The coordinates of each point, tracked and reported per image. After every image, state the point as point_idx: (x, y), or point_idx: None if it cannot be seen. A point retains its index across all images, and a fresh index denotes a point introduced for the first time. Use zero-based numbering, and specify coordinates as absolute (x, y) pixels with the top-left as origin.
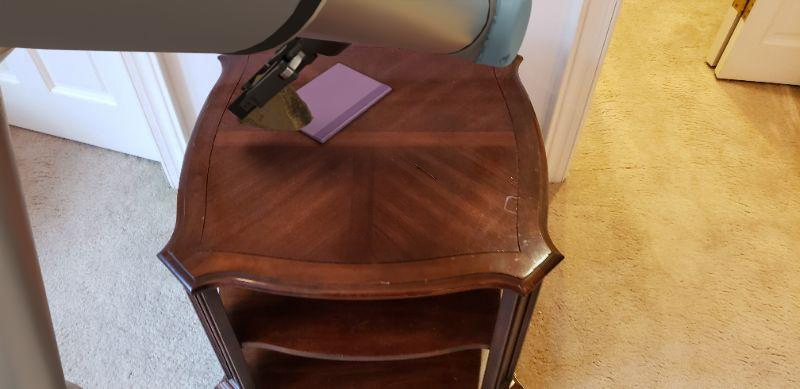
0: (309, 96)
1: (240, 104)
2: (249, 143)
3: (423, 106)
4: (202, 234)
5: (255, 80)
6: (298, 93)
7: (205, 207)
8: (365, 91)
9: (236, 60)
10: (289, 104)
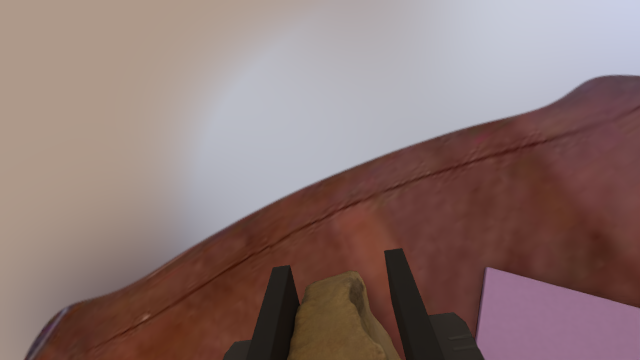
0: (614, 353)
1: (228, 352)
2: None
3: None
4: (107, 341)
5: (366, 350)
6: (602, 311)
7: (170, 304)
8: None
9: (604, 93)
10: None
